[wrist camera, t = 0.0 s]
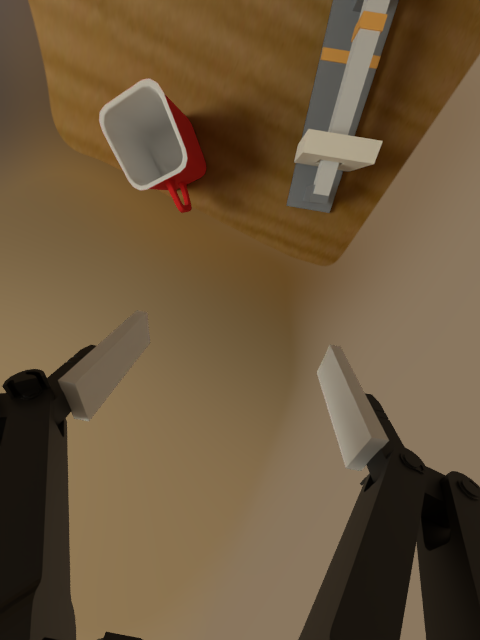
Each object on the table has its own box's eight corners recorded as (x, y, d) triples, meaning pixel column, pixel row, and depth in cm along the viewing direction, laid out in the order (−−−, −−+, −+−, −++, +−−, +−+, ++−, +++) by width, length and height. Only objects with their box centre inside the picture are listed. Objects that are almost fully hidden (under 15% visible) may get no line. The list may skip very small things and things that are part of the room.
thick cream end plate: (298, 144, 29) (308, 128, 22) (354, 154, 29) (382, 141, 22) (294, 162, 30) (303, 152, 23) (348, 171, 30) (374, 164, 23)
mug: (141, 137, 32) (92, 113, 23) (188, 109, 30) (154, 70, 21) (178, 218, 37) (151, 225, 28) (220, 199, 35) (206, 200, 26)
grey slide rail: (340, -31, 23) (368, -114, 17) (403, -21, 23) (454, -101, 17) (286, 205, 35) (291, 207, 29) (328, 212, 35) (342, 215, 29)
